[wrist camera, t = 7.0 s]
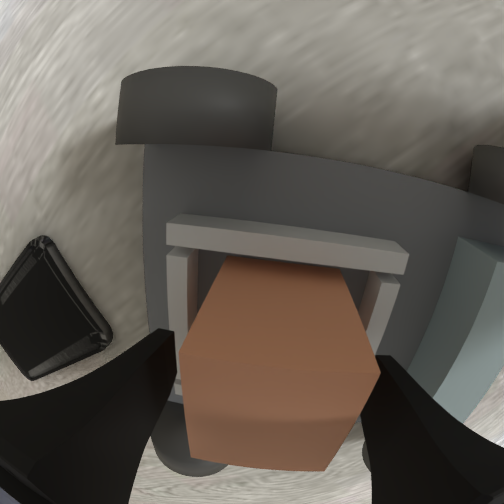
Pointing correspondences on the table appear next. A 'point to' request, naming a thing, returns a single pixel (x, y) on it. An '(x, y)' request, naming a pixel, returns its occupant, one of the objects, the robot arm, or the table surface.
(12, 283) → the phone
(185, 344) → the block
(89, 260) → the table surface
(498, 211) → the chassis
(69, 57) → the table surface
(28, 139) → the table surface
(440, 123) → the table surface
